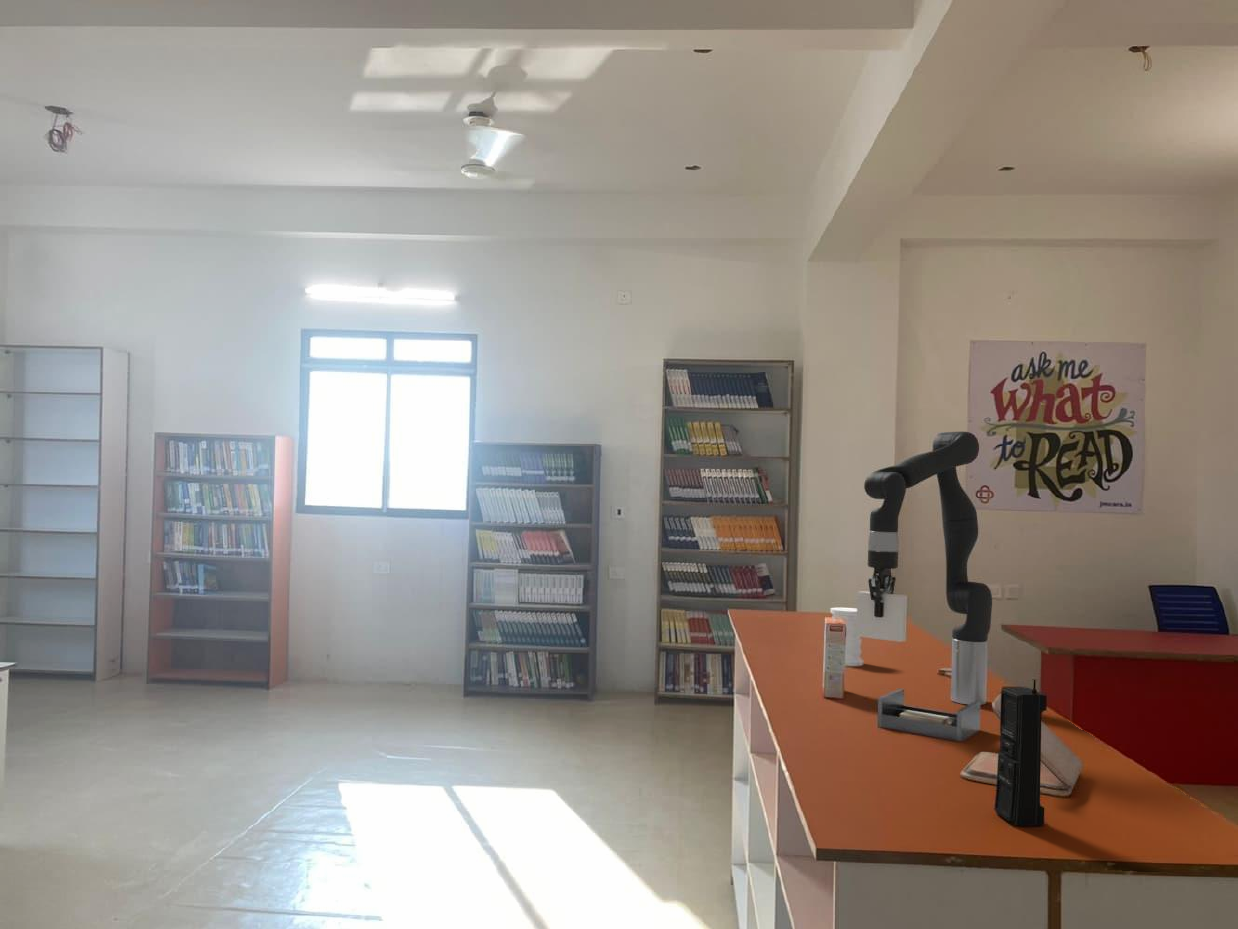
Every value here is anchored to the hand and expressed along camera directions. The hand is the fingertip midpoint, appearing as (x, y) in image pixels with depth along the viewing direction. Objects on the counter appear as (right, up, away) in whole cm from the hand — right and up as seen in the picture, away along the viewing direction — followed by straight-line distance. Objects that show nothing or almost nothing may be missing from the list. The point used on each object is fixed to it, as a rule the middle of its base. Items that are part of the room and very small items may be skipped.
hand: (881, 616), depth 242 cm
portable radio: (+3, -24, -77) cm, 80 cm away
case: (+15, -25, -51) cm, 58 cm away
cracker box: (-7, -26, +24) cm, 36 cm away
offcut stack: (+7, -26, -15) cm, 30 cm away
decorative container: (+9, -28, +75) cm, 80 cm away
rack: (+8, -25, -13) cm, 29 cm away
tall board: (0, -6, 0) cm, 6 cm away
